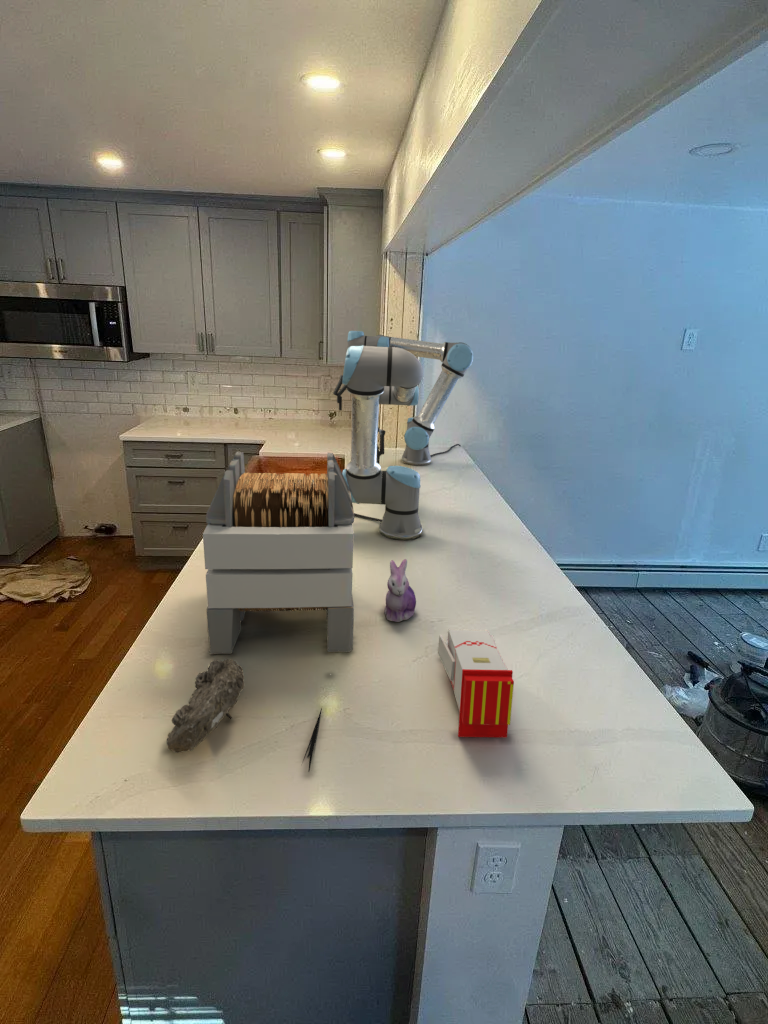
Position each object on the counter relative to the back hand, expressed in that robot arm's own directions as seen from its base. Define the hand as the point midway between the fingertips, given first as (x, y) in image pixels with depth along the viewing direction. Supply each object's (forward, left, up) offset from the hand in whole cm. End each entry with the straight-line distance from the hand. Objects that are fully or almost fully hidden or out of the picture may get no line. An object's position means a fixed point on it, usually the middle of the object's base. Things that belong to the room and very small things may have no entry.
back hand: (353, 409), depth 276 cm
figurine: (+138, +53, -27) cm, 151 cm away
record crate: (+148, +25, -27) cm, 153 cm away
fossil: (+187, +26, -27) cm, 191 cm away
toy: (+165, +73, -27) cm, 183 cm away
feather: (+182, +46, -27) cm, 190 cm away
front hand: (+49, +20, -16) cm, 55 cm away
